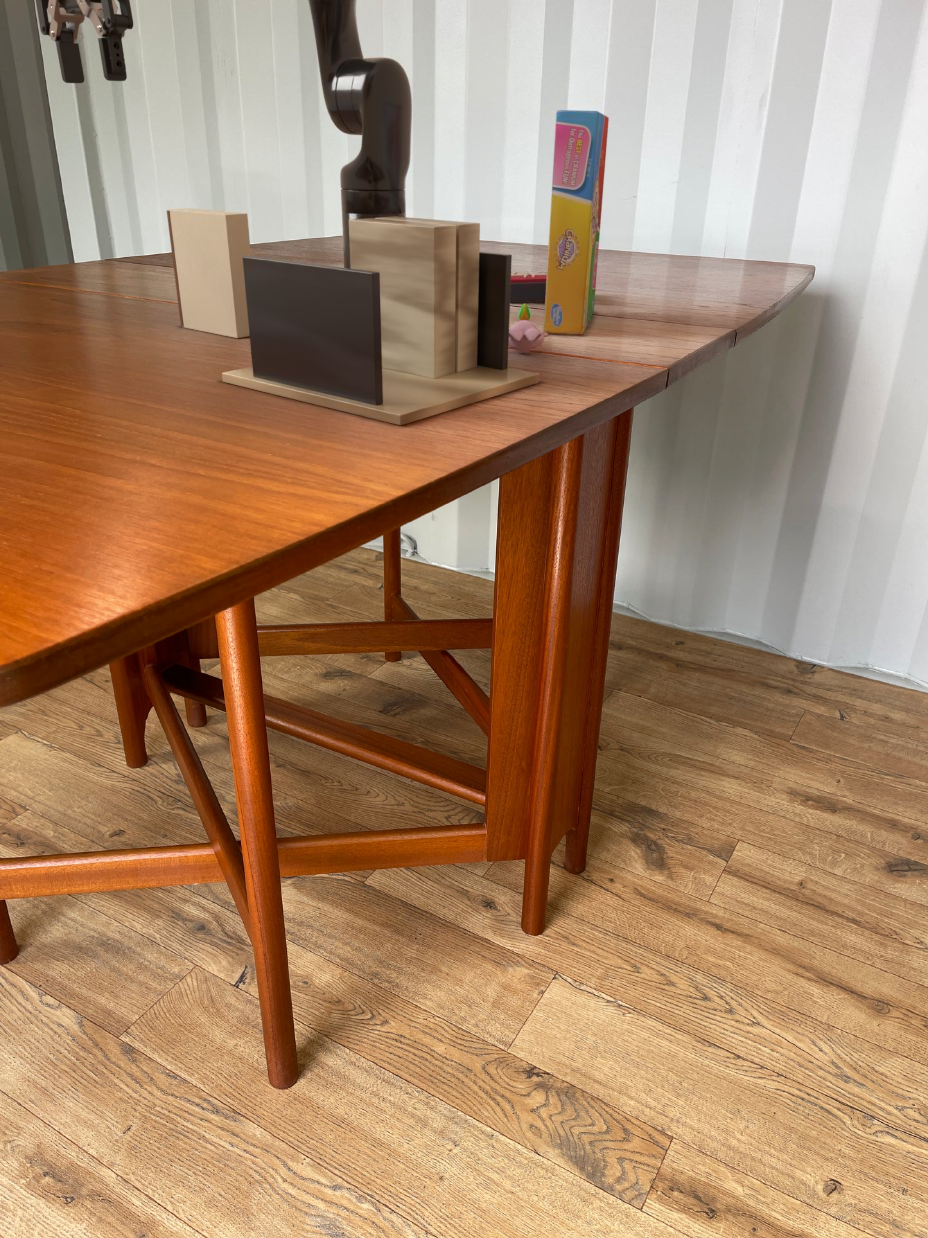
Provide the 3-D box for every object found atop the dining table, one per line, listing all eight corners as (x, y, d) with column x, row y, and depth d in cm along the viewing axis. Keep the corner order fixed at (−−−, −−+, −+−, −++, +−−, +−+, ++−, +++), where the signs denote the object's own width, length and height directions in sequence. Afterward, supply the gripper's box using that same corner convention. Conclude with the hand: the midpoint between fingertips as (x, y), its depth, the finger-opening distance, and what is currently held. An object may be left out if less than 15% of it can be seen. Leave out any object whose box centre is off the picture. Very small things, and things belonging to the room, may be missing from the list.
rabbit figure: (499, 350, 123) (497, 354, 109) (500, 303, 121) (499, 301, 107) (545, 351, 123) (550, 355, 109) (548, 304, 121) (552, 302, 107)
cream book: (202, 323, 130) (188, 208, 123) (258, 334, 124) (247, 213, 117) (180, 326, 128) (166, 209, 121) (237, 338, 121) (225, 214, 114)
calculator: (498, 270, 159) (585, 267, 158) (498, 296, 161) (584, 294, 160) (495, 278, 149) (588, 276, 148) (496, 306, 151) (587, 303, 150)
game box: (582, 336, 126) (599, 110, 113) (542, 334, 127) (554, 109, 114) (594, 312, 144) (609, 114, 131) (559, 310, 145) (571, 114, 132)
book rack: (369, 350, 116) (364, 211, 108) (539, 382, 101) (547, 225, 94) (222, 381, 100) (205, 221, 92) (400, 425, 85) (397, 240, 78)
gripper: (137, -115, 88) (163, 81, 95) (62, -96, 96) (92, 84, 103) (62, -130, 83) (97, 79, 90) (-10, -107, 91) (27, 82, 99)
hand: (94, 81), depth 97 cm, fingers open, 8 cm apart
